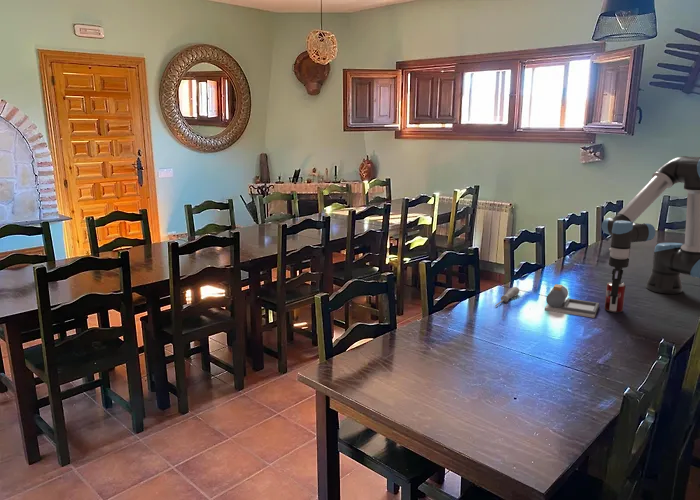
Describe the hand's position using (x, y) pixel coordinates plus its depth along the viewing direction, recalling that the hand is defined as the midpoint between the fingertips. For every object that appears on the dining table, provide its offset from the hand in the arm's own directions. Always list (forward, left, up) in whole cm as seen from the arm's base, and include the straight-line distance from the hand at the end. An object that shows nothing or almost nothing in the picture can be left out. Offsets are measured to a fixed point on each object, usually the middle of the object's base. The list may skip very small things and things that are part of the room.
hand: (613, 307), depth 226 cm
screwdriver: (+44, +9, -2) cm, 45 cm away
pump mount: (+16, +6, -1) cm, 17 cm away
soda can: (0, 0, -1) cm, 1 cm away
